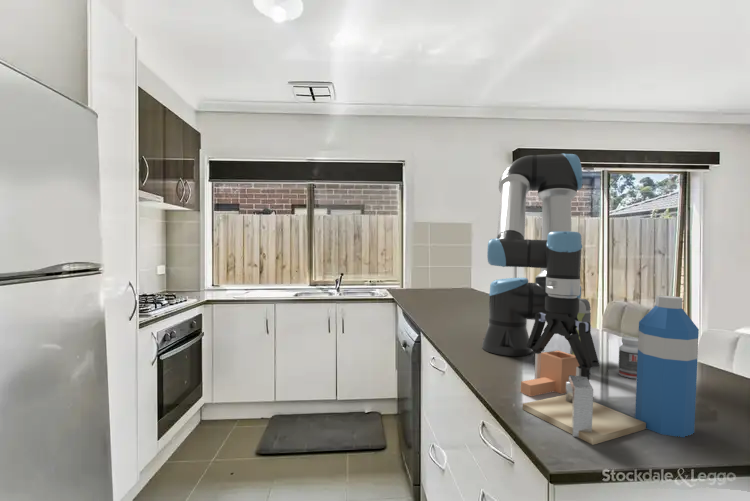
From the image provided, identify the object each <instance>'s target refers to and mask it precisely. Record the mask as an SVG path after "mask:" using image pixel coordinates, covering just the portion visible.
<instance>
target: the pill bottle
mask: <svg viewBox="0 0 750 501" xmlns="http://www.w3.org/2000/svg"><path fill="white" fill-rule="evenodd" d="M621 343H622V344H621V345H620V346H619V348H618V368H617V372H618V374H619V376H622V377H624V378H629V379H635V380H637V358H638V337H633V336H622V337H621Z"/></svg>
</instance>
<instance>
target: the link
mask: <svg viewBox="0 0 750 501" xmlns="http://www.w3.org/2000/svg"><path fill="white" fill-rule="evenodd" d="M542 352H543V353H542ZM542 352H541V371H540V378H538V379H533V378H532V379H527V380H523V381H520V393H522V394H524V395H525V396H529V397H534V396H539V395H545V394H549V393H558V394H560V395H564V394H566V381H568V380H569V376H570V375H573V376H576V367H578V366H579V363H578V361H577V359H576V357H575V355H572V354H570V352H569V353H568V352H564V351H562V350H551V351H542Z"/></svg>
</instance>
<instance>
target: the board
mask: <svg viewBox="0 0 750 501" xmlns="http://www.w3.org/2000/svg"><path fill="white" fill-rule="evenodd" d="M565 398H566V394H561V395H557V396H554V397H548V398H544V399H539V400H533V401H529V402H525V403H524V402H523V403H522V410H523V411H525V412H526V413H527V412H528V413H530V414H531V415H533V416H535V417H537V418H539V419H540V420H543V421H545V422H547V423H549V424H551V425H553V426H554V427H557V428H559V429H561V430H563V431H565V432H566V433H569V434H570V435H572V403H570V402H567V401H566V400H565ZM646 429H647V428H646V423H645V422H643V421H640V420H638V419H635V417H633V416H630V415H627V414H624V413H623V412H620V411H617V410H615V409H613V408H610V407H607V406H606V405H602V404H600V403H598V402H595V401H593V414H592V433H589V432H582V431H579V437H577V438H578V439H580V440H582V441H585V442H586V443H588V444H590V445H592V446H595V445H597V444H600V443H604V442H608V441H610V440H614V439H617V438H620V437H624V436H627V435H630V434H634V433H637V432H642V431H644V430H646Z"/></svg>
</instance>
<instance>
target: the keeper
mask: <svg viewBox="0 0 750 501" xmlns="http://www.w3.org/2000/svg"><path fill="white" fill-rule="evenodd" d="M570 385H571V387H572V390H573V403H572V434H571V435H572V437H573V438H578V437H579V431H582V432H589V433H592V414H593V402H594V388H593V386H592V384H591V383H590V380H588V378H587V377H581V376H573V375H570Z"/></svg>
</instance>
